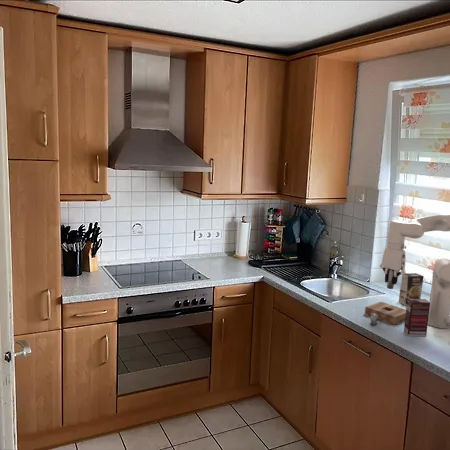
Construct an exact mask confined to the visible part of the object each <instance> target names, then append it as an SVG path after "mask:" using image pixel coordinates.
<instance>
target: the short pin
mask: <svg viewBox="0 0 450 450" xmlns="http://www.w3.org/2000/svg"><path fill="white" fill-rule="evenodd" d="M378 320H379V319H378V314H375V313H372V314H371V317H370V322H369V324H370V326H372V327H376V326H377V325H378Z"/></svg>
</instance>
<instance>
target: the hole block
mask: <svg viewBox="0 0 450 450" xmlns="http://www.w3.org/2000/svg"><path fill="white" fill-rule="evenodd" d="M372 313H375V314H378V320H379V321H382V322H384V323H387V324H390V325H393V326H396V325H399V324H401V323H403V322H405V316H406V309H405V308H402V307H399V306H395V305H393V304H390V303H386V302H383V301H379V302H375V303H372V304H370V305H367V306H365V308H364V316H365V315H366V316H369V317H370V318H371V314H372Z"/></svg>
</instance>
